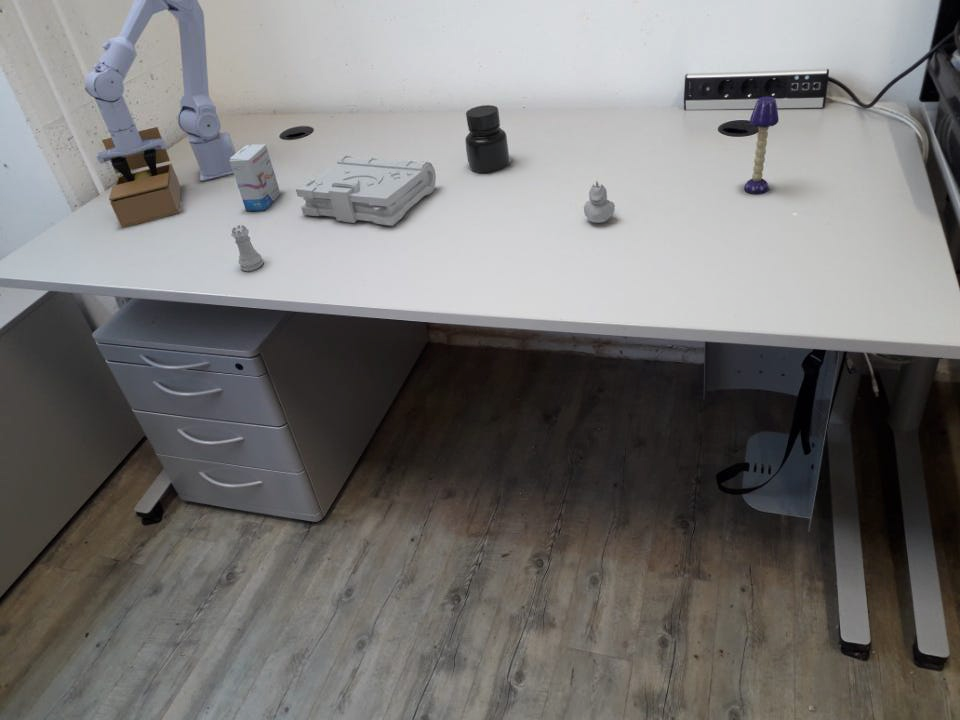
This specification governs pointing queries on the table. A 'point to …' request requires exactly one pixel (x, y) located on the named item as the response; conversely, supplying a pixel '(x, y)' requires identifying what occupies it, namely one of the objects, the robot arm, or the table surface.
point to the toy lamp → (761, 141)
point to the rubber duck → (598, 205)
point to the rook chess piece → (246, 249)
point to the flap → (138, 159)
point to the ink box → (255, 177)
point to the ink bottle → (486, 140)
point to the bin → (146, 197)
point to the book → (367, 189)
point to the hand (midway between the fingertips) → (146, 184)
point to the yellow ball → (142, 175)
